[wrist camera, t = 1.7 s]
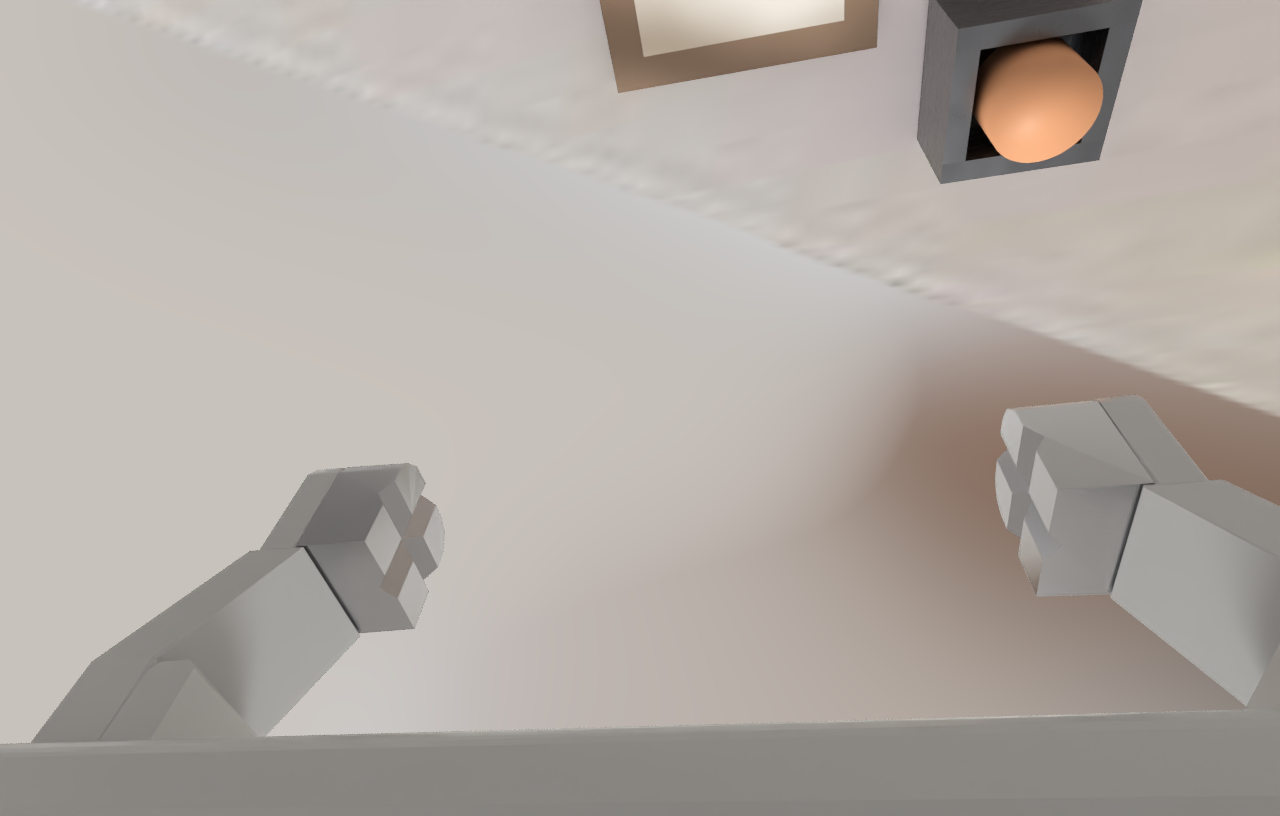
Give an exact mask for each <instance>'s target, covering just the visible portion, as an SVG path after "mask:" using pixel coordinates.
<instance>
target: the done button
mask: <svg viewBox="0 0 1280 816" xmlns="http://www.w3.org/2000/svg"><path fill="white" fill-rule="evenodd" d="M1102 101H1103V85H1102V82H1101V79H1100V77H1099V75H1098V74H1097V73H1096V71H1095V70H1094V69H1093V68H1092V67H1091V66H1090V65H1089V64H1088V63H1087V62H1086V61H1085V60H1084V59H1083V58H1082V57H1081V56H1080V55H1078V54H1077V53H1076V52H1075V51H1074V50H1073V49H1072V48H1071V47H1070V46H1069V45H1068V44H1067V43H1066V42H1065V41H1064V40H1063V39H1061V38H1060V37H1052V38H1047V39H1041V40H1035V41H1029V42H1024V43H1018V44H1012V45H1006V46H1000V47H999V48H997V49H996V50H995V51H994V52H993V53H991V54H990V55H989V56H988V58H987V59H986V60H985V61H984V62H983V64H982V65H981V66H980V68H979V69H978V73H977V80H976V87H975V94H974V102H973V109H972V114H973V116H974V117H975V119H976V120H977V122H978V123H979V125H980V126H981V128H982V129H983V131H984V132H985V134H986V135H987V137H988V138H989V139H990V141H991V142H992V144H993V145H994V147H995V148H996V150H997V151H998V152H999V153H1000V154H1001V155H1002V156H1004V157H1005V158H1007V159H1009V160H1012V161H1015V162H1020V163H1033V162H1039V161H1043V160H1047V159H1050V158H1052V157H1055V156H1057V155H1059V154H1061V153H1063V152H1064V151H1066V150H1067V149H1069V148H1070V147H1072V146H1073V145H1074V144H1075V143H1077V142H1078V141H1079V140H1080V139H1081V138H1082V137H1083V136H1084V135H1085V134H1086V133H1087V132H1088V130H1089V129H1090V128H1091V126H1092V125H1093V123H1094V122H1095V120H1096V118H1097V116H1098V114H1099V112H1100V109H1101V106H1102Z"/></svg>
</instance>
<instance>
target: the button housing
mask: <svg viewBox="0 0 1280 816" xmlns="http://www.w3.org/2000/svg"><path fill="white" fill-rule="evenodd" d="M1141 4H1142V0H929V8H928V19H927V31H926V43H925V54H924V66H923V77H922V89H921V101H920V112H919V124H918V136H917V140H918V142H919V144H920V146H921V148H922V150H923V152H924V153H925V155H926V157H927V159H928V161H929V163H930V165H931V167H932V169H933V171H934V172H935V174H936V176H937V178H938V180H939V182H940V184H944V183H951V182H957V181H964V180H970V179H977V178H984V177H990V176H997V175H1004V174H1010V173H1017V172H1023V171H1030V170H1037V169H1043V168H1050V167H1057V166H1063V165H1070V164H1076V163H1083V162H1090V161H1096V160H1099V158H1100V154H1101V151H1102V147H1103V143H1104V140H1105V136H1106V132H1107V129H1108V125H1109V121H1110V118H1111V114H1112V110H1113V107H1114V103H1115V99H1116V96H1117V92H1118V88H1119V85H1120V81H1121V77H1122V74H1123V70H1124V66H1125V63H1126V59H1127V55H1128V52H1129V48H1130V44H1131V41H1132V37H1133V33H1134V30H1135V26H1136V22H1137V19H1138V15H1139V11H1140V8H1141ZM1052 37H1060V38H1061V39H1063V40H1064V41H1065V42H1066V43H1067V44H1068V45H1069V46H1070V47H1071V48H1072V49H1073V50H1074V51H1075V52H1076V53H1077V54H1078V55H1080V56H1081V57H1082V58H1083V59H1084V60H1085V61H1086V62H1087V63H1088V64H1089V65H1090V66H1091V67H1092V68H1093V69H1094V70H1095V71H1096V73H1097V74H1098V75H1099V77H1100V79H1101V82H1102V85H1103V101H1102V106H1101V109H1100V112H1099V114H1098V116H1097V118H1096V120H1095V122H1094V123H1093V125H1092V126H1091V128H1090V129H1089V130H1088V132H1087V133H1086V134H1085V135H1084V136H1083V137H1082V138H1081V139H1080V140H1079V141H1078V142H1077V143H1075V144H1074V145H1073V146H1072V147H1070V148H1069V149H1067V150H1066V151H1064V152H1063V153H1061V154H1059V155H1057V156H1055V157H1052V158H1050V159H1047V160H1043V161H1039V162H1033V163H1020V162H1015V161H1012V160H1009V159H1007V158H1005V157H1004V156H1002V155H1001V154H1000V153H999V152H998V151H997V150H996V148H995V147H994V145H993V144H992V142H991V141H990V139H989V138H988V137H987V135H986V134H985V132H984V131H983V129H982V128H981V126H980V125H979V123H978V122H977V120H976V119H975V117H974V116H973V114H972V109H973V102H974V94H975V87H976V80H977V73H978V69H979V68H980V66H981V65H982V64H983V62H984V61H985V60H986V59H987V58H988V56H989V55H990V54H991V53H993V52H994V51H995V50H996V49H997V48H999V47H1000V46H1006V45H1012V44H1018V43H1024V42H1029V41H1035V40H1041V39H1047V38H1052Z"/></svg>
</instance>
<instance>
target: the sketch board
mask: <svg viewBox="0 0 1280 816" xmlns="http://www.w3.org/2000/svg"><path fill="white" fill-rule="evenodd" d="M878 3H879V0H600V4H601V9H602V14H603V19H604V24H605V29H606V34H607V39H608V44H609V49H610V54H611V59H612V64H613V69H614V74H615V79H616V83H617V88H618V93H621V92H627V91H633V90H638V89H644V88H650V87H655V86H661V85H667V84H672V83H678V82H684V81H689V80H695V79H701V78H706V77H712V76H717V75H723V74H729V73H734V72H740V71H746V70H751V69H757V68H763V67H768V66H774V65H780V64H785V63H791V62H797V61H802V60H808V59H814V58H819V57H825V56H831V55H836V54H842V53H848V52H853V51H859V50H865V49H870V48H876V47H877V27H878Z"/></svg>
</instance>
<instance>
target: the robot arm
mask: <svg viewBox="0 0 1280 816" xmlns="http://www.w3.org/2000/svg"><path fill="white" fill-rule="evenodd" d="M1000 434H1001V436H1002V438H1003V440H1004V442H1005V444H1006V446H1007V448H1008V449H1007V450H1006V451H1005V452H1004V453H1003V454H1002V455H1001V456H1000V457H999V458H998V459H997V465H996V475H995V484H996V495H997V502H998V505H999V509H1000V513H1001V516H1002V518H1003V521H1004V523H1005V526H1006V528H1007V529H1008V530H1009V531H1010V532H1012V533H1013V534H1015V535H1016V536H1018V537H1019V538H1021V541H1020V548H1019V553H1018V556H1019V558H1020V561H1021V563H1022V565H1023V568H1024V570H1025V572H1026V574H1027V576H1028V579H1029V581H1030V583H1031V586H1032V588H1033V590H1034V592H1035V594H1036V596H1067V595H1102V594H1111V597H1110V598H1111V599H1113V600H1114V601H1115V602H1116V603H1118V604H1119V605H1120V606H1121V607H1123V608H1124V609H1125V610H1127V611H1128V612H1129V613H1130V614H1131V615H1133V616H1134V617H1135V618H1137V619H1138V620H1139V621H1140V622H1142V623H1143V624H1144V625H1145V626H1147V627H1148V628H1149V629H1151V630H1152V631H1153V632H1154V633H1155V634H1157V635H1158V636H1159V637H1160V638H1162V639H1163V640H1164V641H1165V642H1167V643H1168V644H1169V645H1170V646H1172V647H1173V648H1174V649H1176V650H1177V651H1178V652H1179V653H1180V654H1182V655H1183V656H1184V657H1185V658H1187V659H1188V660H1189V661H1190V662H1192V663H1193V664H1194V665H1195V666H1197V667H1198V668H1199V669H1200V670H1202V671H1203V672H1204V673H1205V674H1207V675H1208V676H1209V677H1210V678H1212V679H1213V680H1214V681H1216V682H1217V683H1218V684H1219V685H1220V686H1222V687H1223V688H1224V689H1226V690H1227V691H1228V692H1229V693H1231V694H1232V695H1233V696H1234V697H1236V698H1237V699H1238V700H1239V701H1241V702H1242V703H1243V704H1244V705H1246V708H1245V709H1244V710H1222V711H1185V712H1147V713H1109V714H1075V715H1074V714H1073V715H1035V716H999V717H963V718H929V719H895V720H894V719H892V720H860V721H859V720H857V721H823V722H822V721H821V722H786V723H750V724H713V725H678V726H676V725H675V726H640V727H639V726H638V727H604V728H603V727H601V728H563V729H530V730H529V729H528V730H527V729H526V730H490V731H455V732H454V731H453V732H417V733H381V734H348V735H346V734H344V735H312V736H311V735H309V736H274V737H273V736H272V737H265V736H266V735H267V734H268V733H269V732H270V731H271V730H272V729H273V728H274V727H275V726H276V725H277V723H278V722H279V721H280V720H281V719H282V718H283V717H284V716H285V715H286V714H287V713H288V712H289V711H290V710H291V709H292V708H293V707H294V706H295V705H296V703H297V702H298V701H299V700H300V699H301V698H302V697H303V696H304V695H305V694H306V693H307V692H308V691H309V690H310V689H311V688H312V686H314V684H315V683H316V682H317V681H318V680H319V679H320V678H321V677H322V676H323V675H324V674H325V673H326V672H327V671H328V670H329V669H330V668H331V667H332V665H333V664H334V663H335V662H336V661H337V660H338V659H339V658H340V657H341V656H342V655H343V654H344V653H345V652H346V650H348V649H349V647H350V646H351V645H352V644H353V643H354V642H355V641H356V640H357V639H358V638H359V637H360V634H359V633H368V632H380V631H392V630H405V629H414V628H415V626H416V624H417V621H418V618H419V616H420V613H421V611H422V608H423V605H424V603H425V600H426V597H427V595H428V592H429V591H428V588H427V587H426V584H425V582H424V579H425V578H426V577H427V576H428V575H429V574H431V572H433V571H434V570H435V569H436V568H437V567H438V565H439V562H440V559H441V557H442V554H443V549H444V527H443V523H442V518H441V515H440V513H439V511H438V509H437V507H436V505H435V504H433V503H432V502H430V501H429V500H428V499H426V498H425V497H423V496H422V495H421V494H422V491H423V489H424V486H425V484H426V483H425V481H424V479H423V477H422V475H421V473H420V472H419V470H418V468H417V466H414V465H411V464H409V463H406V464H390V465H375V466H360V467H348V468H338V469H326V470H325V469H324V470H316V471H315V472H313V473H311V474H309V475H308V476H307V477H306V479H305V480H304V482H303V483H302V485H301V487H300V488H299V490H298V491H297V493H296V494H295V496H294V497H293V499H292V501H291V502H290V504H289V505H288V507H287V508H286V510H285V511H284V513H283V515H282V516H281V518H280V519H279V521H278V522H277V524H276V526H275V527H274V529H273V530H272V532H271V534H270V535H269V537H268V538H267V539H266V541H265V543H264V544H263V546H262V547H261V549H260V550H256V551H249V552H248V553H246V554H245V555H244V556H242V557H241V558H239V559H238V560H236V561H235V562H234V563H232V564H231V565H229V566H228V567H226V568H225V569H224V570H222V571H221V572H219V573H218V574H216V575H215V576H214V577H212V578H211V579H209V580H208V581H207V582H205V583H204V584H202V585H201V586H199V587H198V588H196V589H195V590H194V591H192V592H191V593H189V594H188V595H186V596H185V597H184V598H182V599H181V600H179V601H178V602H176V603H175V604H174V605H172V606H171V607H169V608H168V609H166V610H165V611H164V612H162V613H161V614H159V615H158V616H156V617H155V618H154V619H152V620H151V621H149V622H148V623H146V624H145V625H144V626H142V627H141V628H139V629H138V630H136V631H135V632H134V633H132V634H131V635H129V636H128V637H126V638H125V639H124V640H122V641H121V642H119V643H118V644H117V645H115V646H114V647H112V648H111V649H109V650H108V651H107V652H105V653H104V654H102V655H101V656H99V657H98V658H96V659H95V660H94V661H92V662H91V664H90V665H89V666H88V667H87V669H86V670H85V672H84V673H83V674H82V675H81V677H80V678H79V679H78V681H77V682H76V683H75V685H74V686H73V687H72V689H71V690H70V691H69V693H68V694H67V695H66V697H65V698H64V699H63V701H62V702H61V703H60V705H59V706H58V708H57V709H56V710H55V711H54V712H53V714H52V715H51V717H50V718H49V719H48V721H47V722H46V723H45V725H44V726H43V727H42V729H41V730H40V731H39V732H38V734H37V735H36V736H35V738H34V739H33V740H32V742H31V743H18V744H0V816H1280V506H1277V505H1275V504H1273V503H1271V502H1269V501H1267V500H1265V499H1263V498H1261V497H1258V496H1256V495H1254V494H1252V493H1250V492H1248V491H1246V490H1244V489H1241V488H1239V487H1237V486H1235V485H1233V484H1231V483H1229V482H1226V481H1224V480H1212V481H1211V480H1210V481H1209V480H1208V479H1207V478H1206V477H1205V475H1204V474H1203V473H1202V472H1201V470H1200V469H1199V468H1198V466H1197V465H1196V464H1195V463H1194V461H1193V460H1192V459H1191V458H1190V456H1189V455H1188V454H1187V453H1186V452H1185V450H1184V449H1183V448H1182V446H1181V445H1180V444H1179V443H1178V441H1177V440H1176V439H1175V437H1174V436H1173V435H1172V434H1171V432H1170V431H1169V430H1168V429H1167V427H1166V426H1165V425H1164V424H1163V422H1162V421H1161V420H1160V419H1159V417H1158V416H1157V415H1156V413H1155V412H1154V411H1153V410H1152V408H1151V407H1150V406H1149V405H1148V403H1147V402H1146V401H1145V400H1144V399H1143V398H1141V397H1139V396H1137V395H1128V396H1119V397H1110V398H1101V399H1093V400H1091V401H1083V402H1073V403H1062V404H1052V405H1042V406H1032V407H1021V408H1011V409H1007V410H1006V412H1005V414H1004V417H1003V420H1002V427H1001V433H1000Z"/></svg>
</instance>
